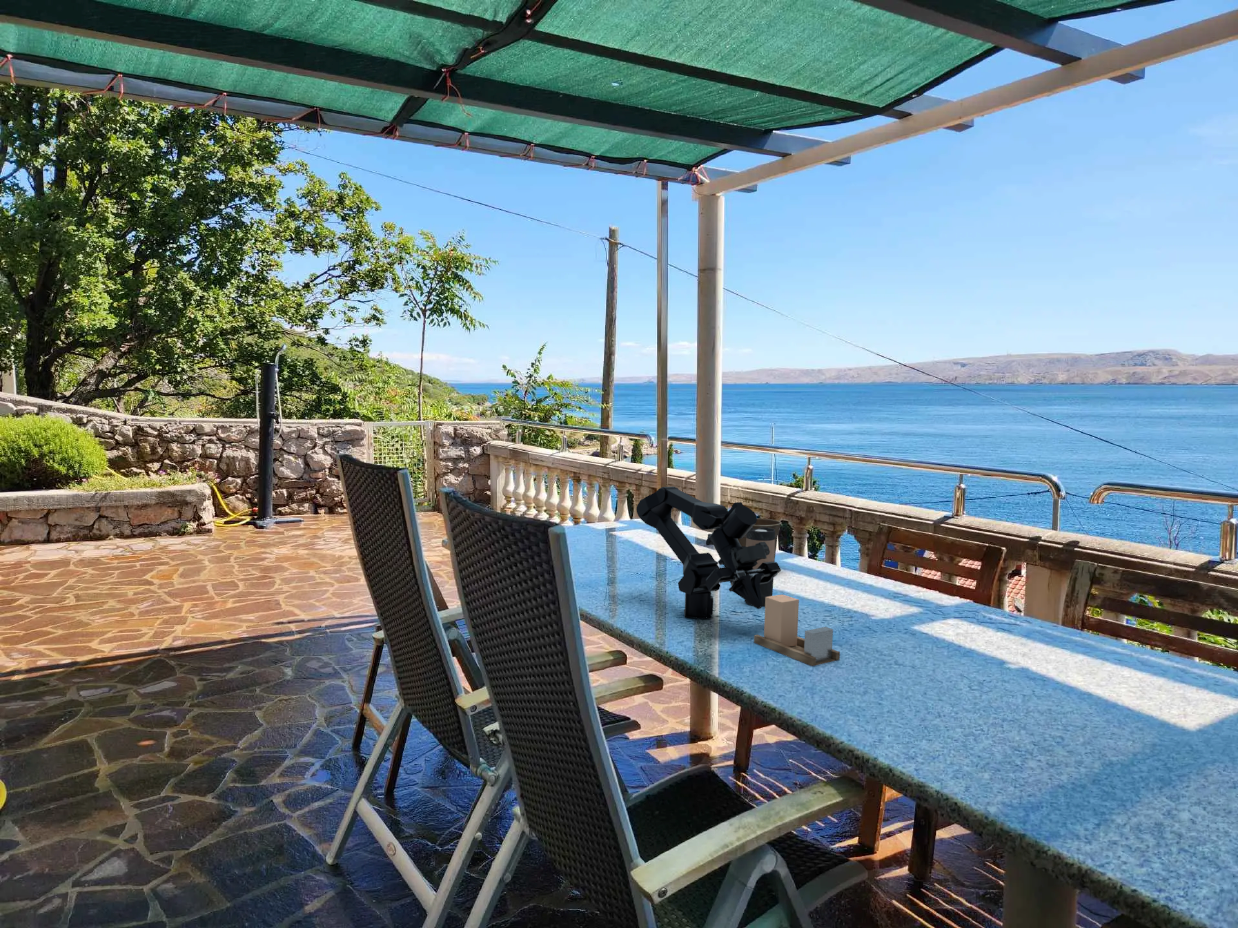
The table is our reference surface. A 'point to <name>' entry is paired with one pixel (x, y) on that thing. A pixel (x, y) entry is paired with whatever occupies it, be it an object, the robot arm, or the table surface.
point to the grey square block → (819, 643)
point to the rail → (794, 650)
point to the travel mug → (769, 538)
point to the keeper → (781, 619)
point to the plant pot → (768, 524)
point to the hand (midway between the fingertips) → (760, 607)
